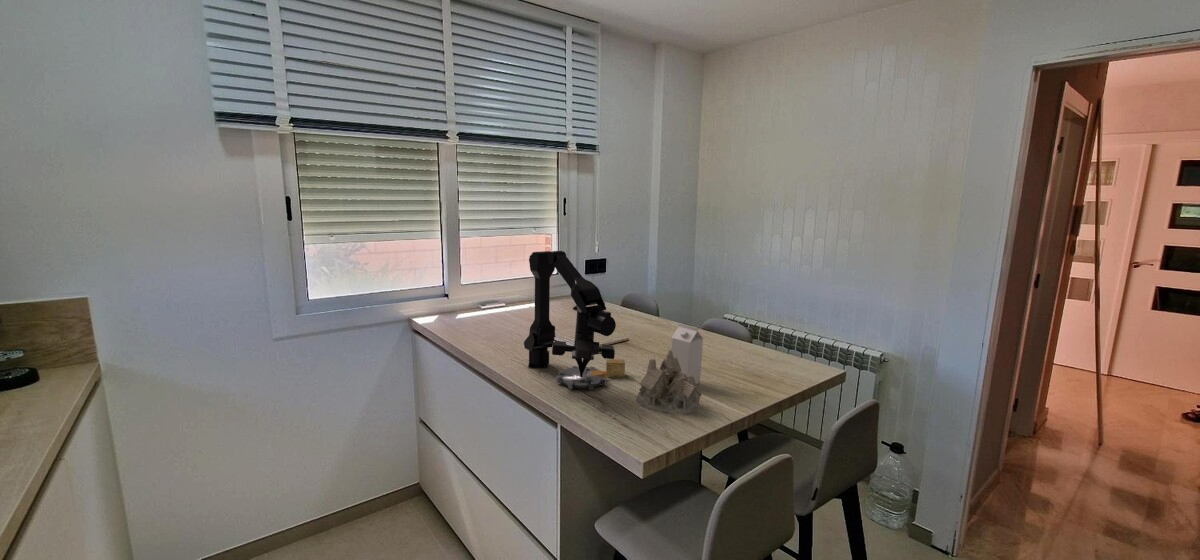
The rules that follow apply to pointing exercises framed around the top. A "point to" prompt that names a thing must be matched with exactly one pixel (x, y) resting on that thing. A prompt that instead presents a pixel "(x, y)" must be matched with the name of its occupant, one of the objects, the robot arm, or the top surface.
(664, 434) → the top surface
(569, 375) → the sprocket
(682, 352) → the milk carton
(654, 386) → the ceramic cottage
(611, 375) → the orange banded block
